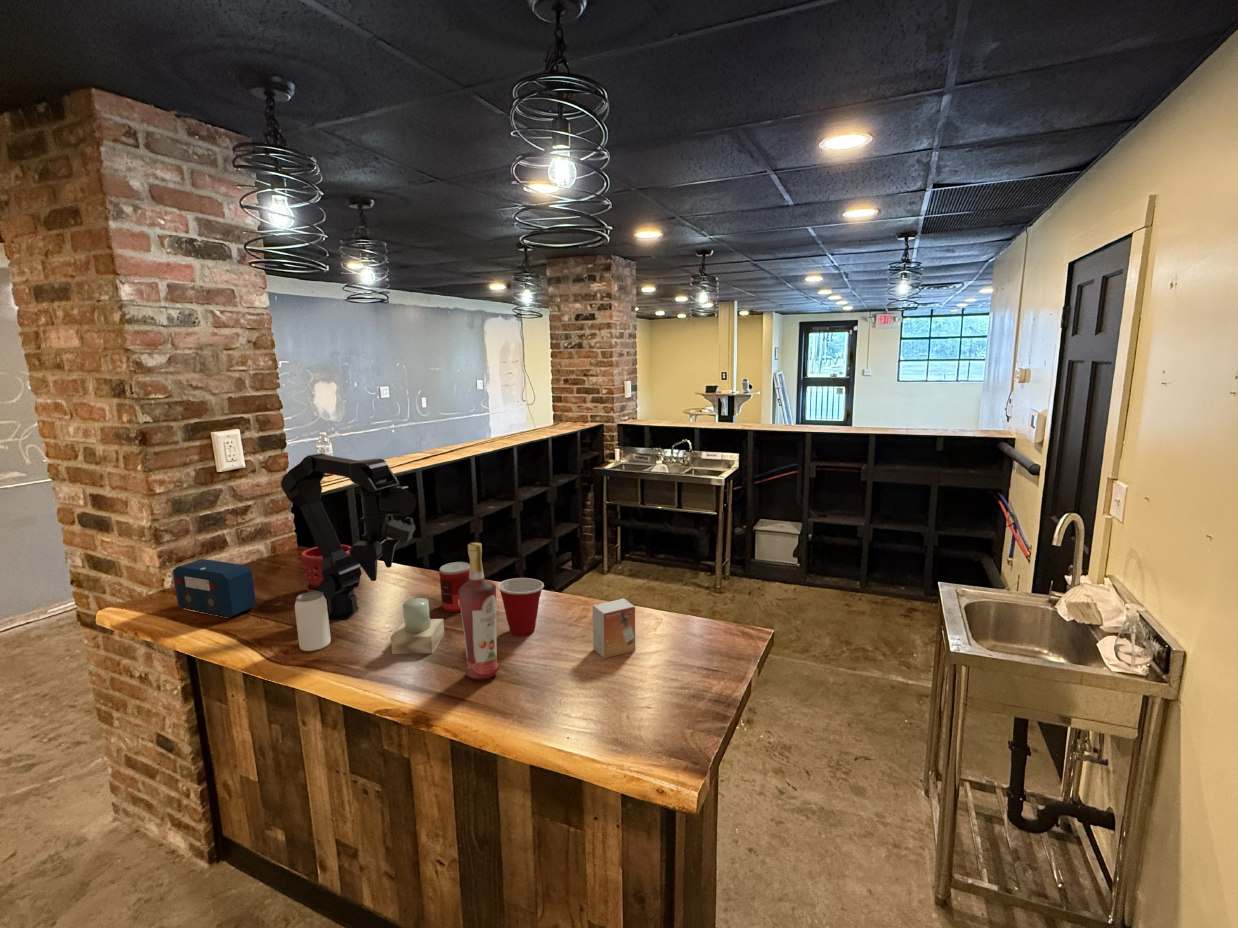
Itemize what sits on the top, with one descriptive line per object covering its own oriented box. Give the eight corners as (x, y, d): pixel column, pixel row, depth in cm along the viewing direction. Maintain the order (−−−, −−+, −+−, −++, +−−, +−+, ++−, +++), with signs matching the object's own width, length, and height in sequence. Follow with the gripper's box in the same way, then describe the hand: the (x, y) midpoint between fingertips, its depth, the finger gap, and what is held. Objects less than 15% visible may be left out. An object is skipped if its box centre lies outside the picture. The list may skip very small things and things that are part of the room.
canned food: (476, 600, 161) (474, 561, 159) (466, 613, 153) (463, 572, 151) (449, 599, 162) (446, 561, 160) (437, 612, 154) (434, 571, 152)
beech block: (392, 653, 132) (390, 636, 132) (406, 635, 141) (405, 619, 140) (432, 653, 132) (431, 636, 131) (444, 634, 141) (443, 618, 140)
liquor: (483, 688, 118) (474, 552, 113) (457, 678, 121) (447, 546, 117) (508, 671, 124) (501, 542, 119) (482, 662, 128) (474, 537, 123)
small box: (603, 659, 128) (602, 613, 126) (592, 648, 133) (591, 604, 131) (636, 650, 131) (635, 606, 130) (624, 640, 136) (623, 597, 135)
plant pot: (343, 598, 164) (338, 556, 162) (296, 599, 164) (291, 557, 162) (363, 581, 177) (360, 542, 175) (320, 581, 177) (315, 542, 175)
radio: (173, 611, 158) (161, 538, 154) (205, 598, 166) (195, 529, 162) (228, 622, 150) (217, 546, 147) (259, 608, 158) (250, 536, 155)
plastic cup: (555, 629, 142) (553, 582, 140) (519, 646, 135) (516, 596, 133) (527, 617, 150) (524, 571, 148) (491, 631, 142) (488, 584, 140)
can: (337, 640, 139) (332, 592, 137) (315, 653, 133) (309, 603, 131) (315, 637, 141) (310, 589, 139) (293, 649, 135) (286, 599, 133)
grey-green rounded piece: (401, 633, 133) (399, 607, 132) (410, 622, 139) (408, 598, 138) (425, 632, 133) (423, 607, 132) (433, 622, 139) (431, 597, 138)
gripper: (394, 521, 133) (400, 587, 136) (422, 502, 152) (426, 560, 154) (345, 522, 133) (351, 588, 136) (378, 502, 152) (384, 561, 155)
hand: (381, 573), depth 145 cm, fingers open, 9 cm apart
